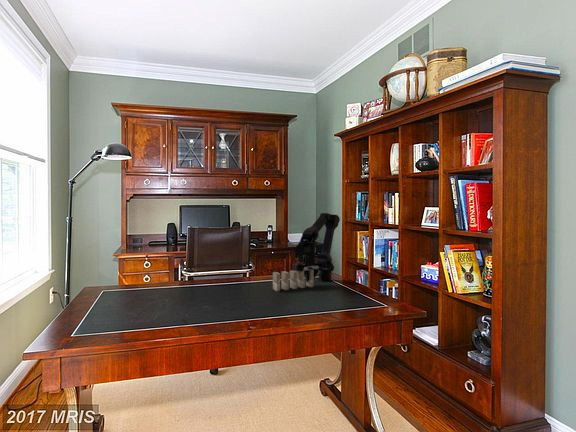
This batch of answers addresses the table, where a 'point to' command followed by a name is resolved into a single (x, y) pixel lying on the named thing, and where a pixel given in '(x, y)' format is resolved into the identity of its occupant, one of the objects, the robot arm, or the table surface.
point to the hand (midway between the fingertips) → (309, 281)
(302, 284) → the domino
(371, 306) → the table surface
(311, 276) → the domino
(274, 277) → the domino
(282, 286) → the domino
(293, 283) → the domino
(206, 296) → the table surface
